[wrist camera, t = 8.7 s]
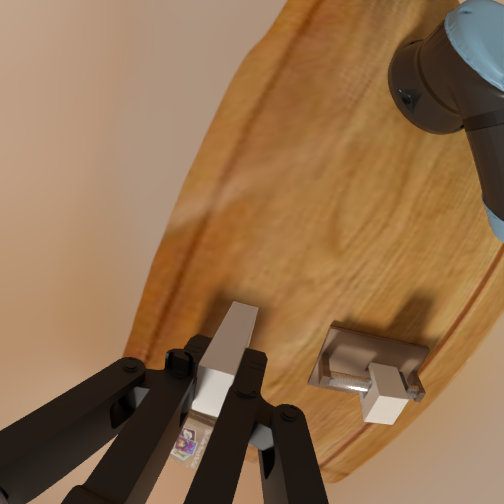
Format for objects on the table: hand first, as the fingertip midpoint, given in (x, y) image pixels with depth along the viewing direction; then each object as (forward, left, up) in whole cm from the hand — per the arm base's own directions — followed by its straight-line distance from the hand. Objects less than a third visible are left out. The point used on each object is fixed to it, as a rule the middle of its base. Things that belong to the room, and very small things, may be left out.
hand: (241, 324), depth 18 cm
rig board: (+19, +21, -29) cm, 41 cm away
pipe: (+19, +21, -25) cm, 38 cm away
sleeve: (+19, +22, -26) cm, 39 cm away
